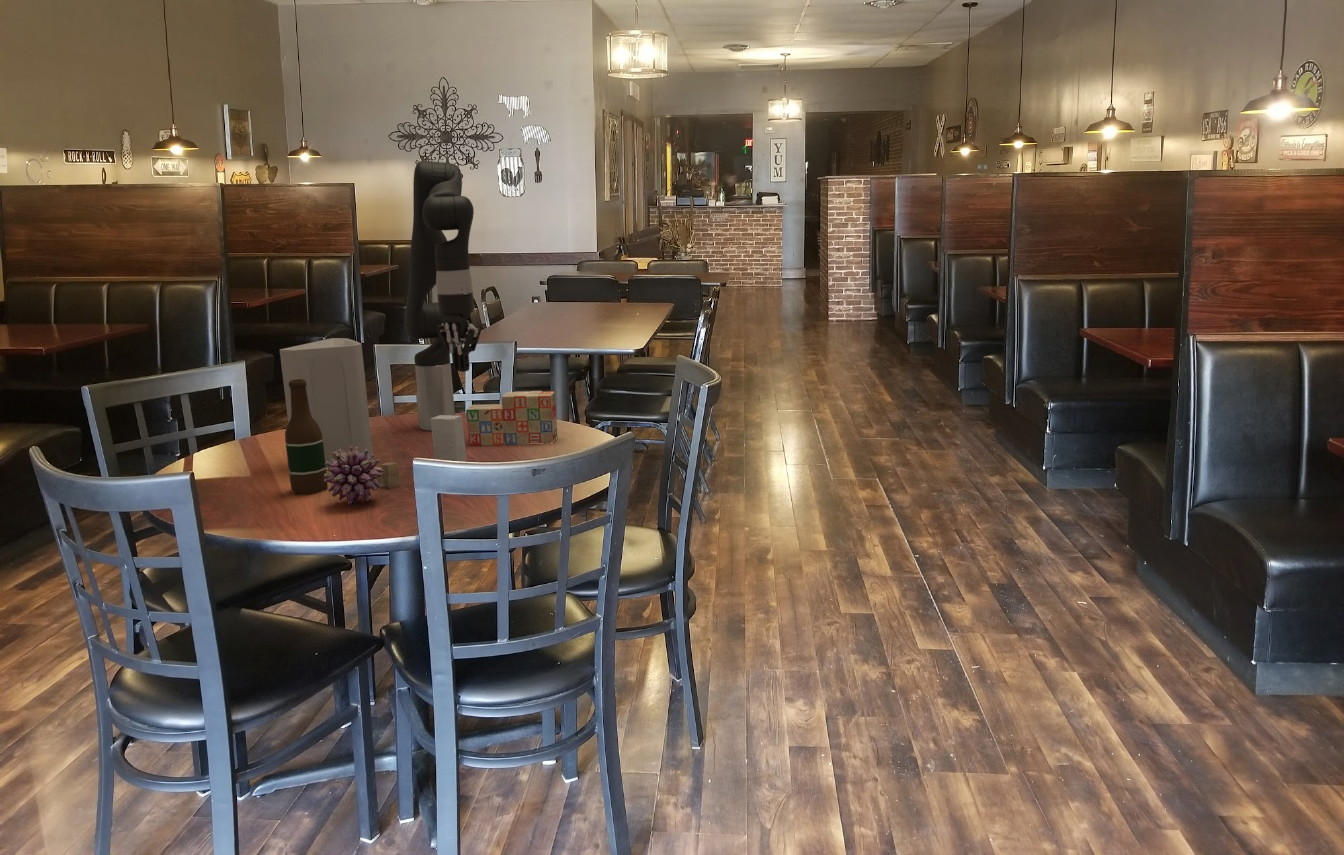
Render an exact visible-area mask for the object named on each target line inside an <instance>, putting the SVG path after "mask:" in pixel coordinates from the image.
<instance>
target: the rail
mask: <svg viewBox="0 0 1344 855" xmlns="http://www.w3.org/2000/svg"><path fill="white" fill-rule="evenodd" d="M343 452H344V453H346V454H347V452H346V451H343ZM336 454H338V452H333V453H332V457H333V459H334V460H337V457H336ZM374 468H377V469H383V471H384V472H382V476H379V477H377V478H376V479H375V480H376V481H378V483H379V484H380V485H382V487H383V488H387V489H394V488H397V487H400V486H401V484H400V474H399V465H398V463H397V462H394V461H393V462H392V461H390V462H385V463H382V464H381V467H378V466H375V467H374ZM382 487H381V488H382Z"/></svg>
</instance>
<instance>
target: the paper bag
mask: <svg viewBox="0 0 1344 855" xmlns="http://www.w3.org/2000/svg"><path fill="white" fill-rule="evenodd" d="M279 357H280V364H281V374H282V382H283V389H284V398H285V407H286V415H287V422H288V423H289V421H290V419H291V393H290V387H289V386H288V385H289V381H291V380H295V379H304V380H305V381H306V383H307V385H306V392H307V397H308V403H309V408H310V412H311V416H312V418H313V419H314V420H315V421H316V423H317V424H318V426H319V428H320V430H321V433H322V438H323V446H324V455H325V463H326V461H328V462H332V461H331V460H332V459H333V457H332V453H333V452H337V451H338V450H339V449H341V450H342V451H346V452H347V454H348V452H349V450H350V447H353V450H355V448H356V447H359V453H360V454H361V453H363V452H364V451H365V449H367V450H368V453H367V456H369V455H371V454H373V455H374V453H373V451H374V450H373V443H372V442H373V441H372V432H371V423H370V415H369V405H368V396H367V394H368V393H367V385H366V374H365V367H364V366H365V364H364V356H363V346H362V343H361V342H358V341H356V340H354V339H350V338H346V337H345V338H344V337H343V338H342V337H339V338H338V337H336V338H335V337H333V338H332V337H331V338H327V339H322V340H319V341H314V342H308V343H303V344H299V345H295V346H291V347H289V346H288V347H285V348H281V349H279ZM288 423H287V424H288ZM372 460H373V461H374V458H373V459H372ZM326 468H329V467H328V466H327V465H326Z"/></svg>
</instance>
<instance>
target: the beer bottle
mask: <svg viewBox="0 0 1344 855" xmlns="http://www.w3.org/2000/svg"><path fill="white" fill-rule="evenodd" d="M306 385H307V383H306V381H305V380H304V379H295V380H291V381H289V385H288V386H289V387H290V393H291V419H290V421H289V423H287V425H286V428H285V432H284V439H285V440H284V442H285V443H284V444H285V448H286V458H287V466H288V474H289V484H290V488H291V491H292V493H293V494H294V495H299V494H308V495H314V494H313V493H315V494H318V493H317V492H320V493H322V492H324V491H328V489H329V487H328V486H329V485H328V482H324V480H325V479H327V478H325V476H324V474H327V473H328V472H327V469H326V465H325V455H324V446H323V438H322V433H321V430H320V428H319V426H318V424H317V423H316V421H315V420H314V419H313V418H312V416H311V412H310V408H309V403H308V397H307V392H306ZM323 490H324V491H323ZM321 491H322V492H321Z"/></svg>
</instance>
